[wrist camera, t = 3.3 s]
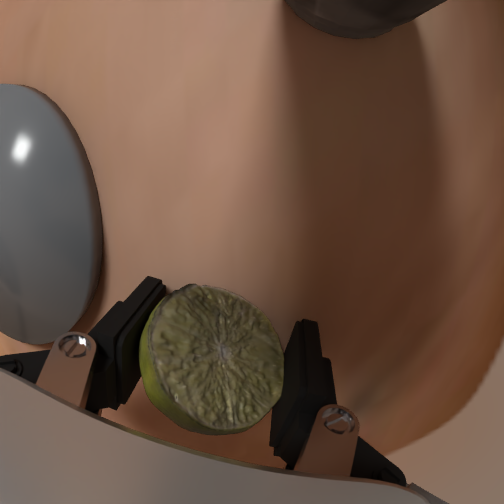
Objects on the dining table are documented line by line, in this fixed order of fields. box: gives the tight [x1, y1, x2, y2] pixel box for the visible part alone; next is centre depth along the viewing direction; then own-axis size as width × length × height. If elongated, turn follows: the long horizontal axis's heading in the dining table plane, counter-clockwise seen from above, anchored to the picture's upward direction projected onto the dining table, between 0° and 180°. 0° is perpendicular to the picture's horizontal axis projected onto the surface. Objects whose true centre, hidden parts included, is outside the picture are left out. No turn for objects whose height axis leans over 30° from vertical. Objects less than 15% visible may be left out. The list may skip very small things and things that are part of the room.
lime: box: [139, 284, 284, 435], centre depth 10 cm, size 4×5×5 cm
